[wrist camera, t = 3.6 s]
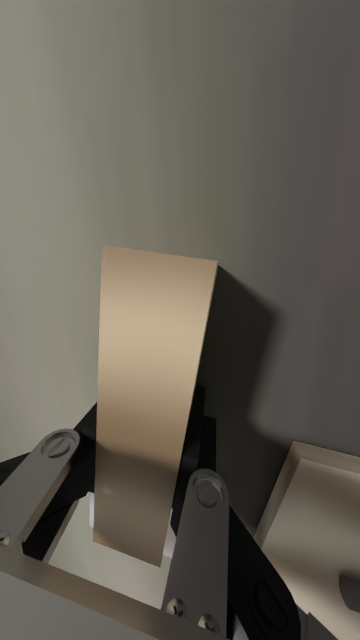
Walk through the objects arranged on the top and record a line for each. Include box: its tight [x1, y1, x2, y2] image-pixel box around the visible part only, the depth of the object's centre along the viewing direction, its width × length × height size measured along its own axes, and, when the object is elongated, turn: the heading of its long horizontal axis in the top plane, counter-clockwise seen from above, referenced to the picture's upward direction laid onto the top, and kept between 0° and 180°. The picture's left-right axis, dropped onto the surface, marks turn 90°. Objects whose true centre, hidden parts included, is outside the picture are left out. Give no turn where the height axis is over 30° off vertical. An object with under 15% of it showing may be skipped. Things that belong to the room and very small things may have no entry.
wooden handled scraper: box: [90, 245, 218, 567], centre depth 9 cm, size 19×8×4 cm, turn 172°
